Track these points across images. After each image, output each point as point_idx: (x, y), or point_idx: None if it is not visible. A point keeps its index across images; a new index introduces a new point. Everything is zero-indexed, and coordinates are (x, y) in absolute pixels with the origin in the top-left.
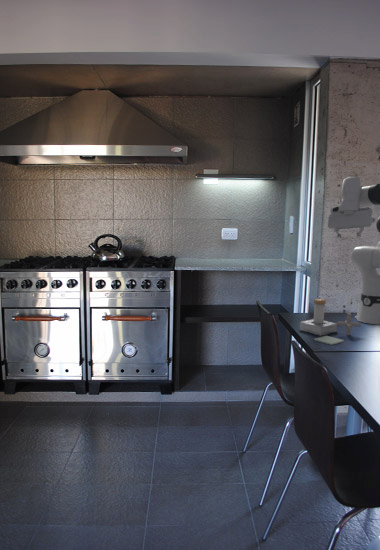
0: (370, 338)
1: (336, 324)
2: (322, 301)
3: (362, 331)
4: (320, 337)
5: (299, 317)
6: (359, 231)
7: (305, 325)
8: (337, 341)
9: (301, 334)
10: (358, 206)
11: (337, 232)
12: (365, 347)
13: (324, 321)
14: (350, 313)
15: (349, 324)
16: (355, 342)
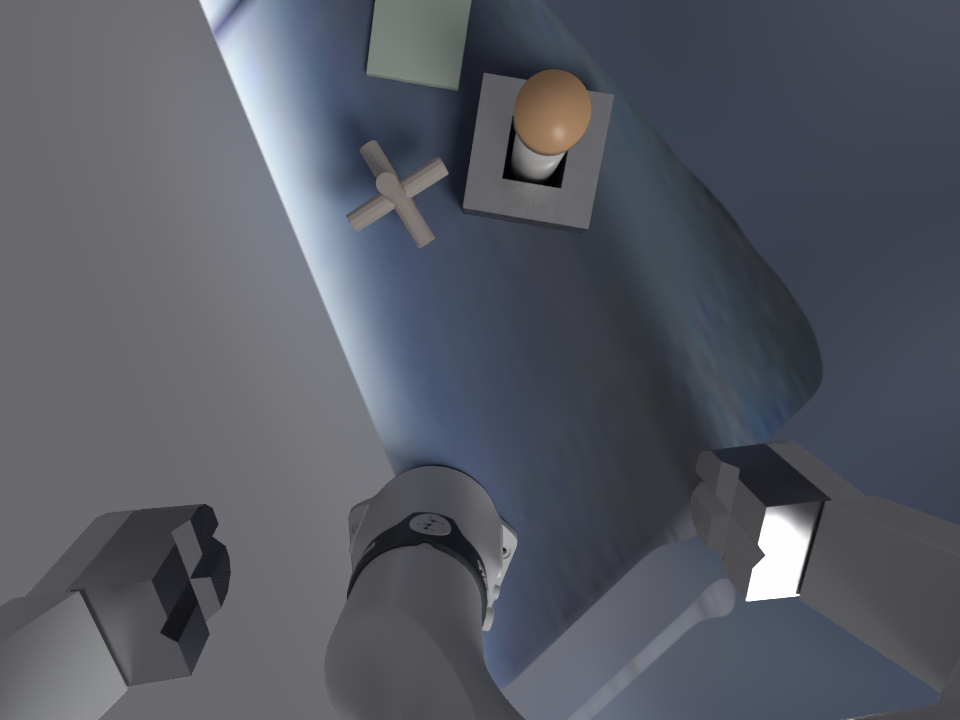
0: (312, 221)
1: (463, 204)
2: (522, 86)
3: (386, 313)
4: (462, 35)
5: (721, 348)
6: (14, 620)
7: None
8: (377, 30)
9: (561, 42)
10: None
11: (888, 521)
12: (265, 60)
13: (528, 203)
14: (383, 192)
15: (374, 152)
16: (328, 105)
